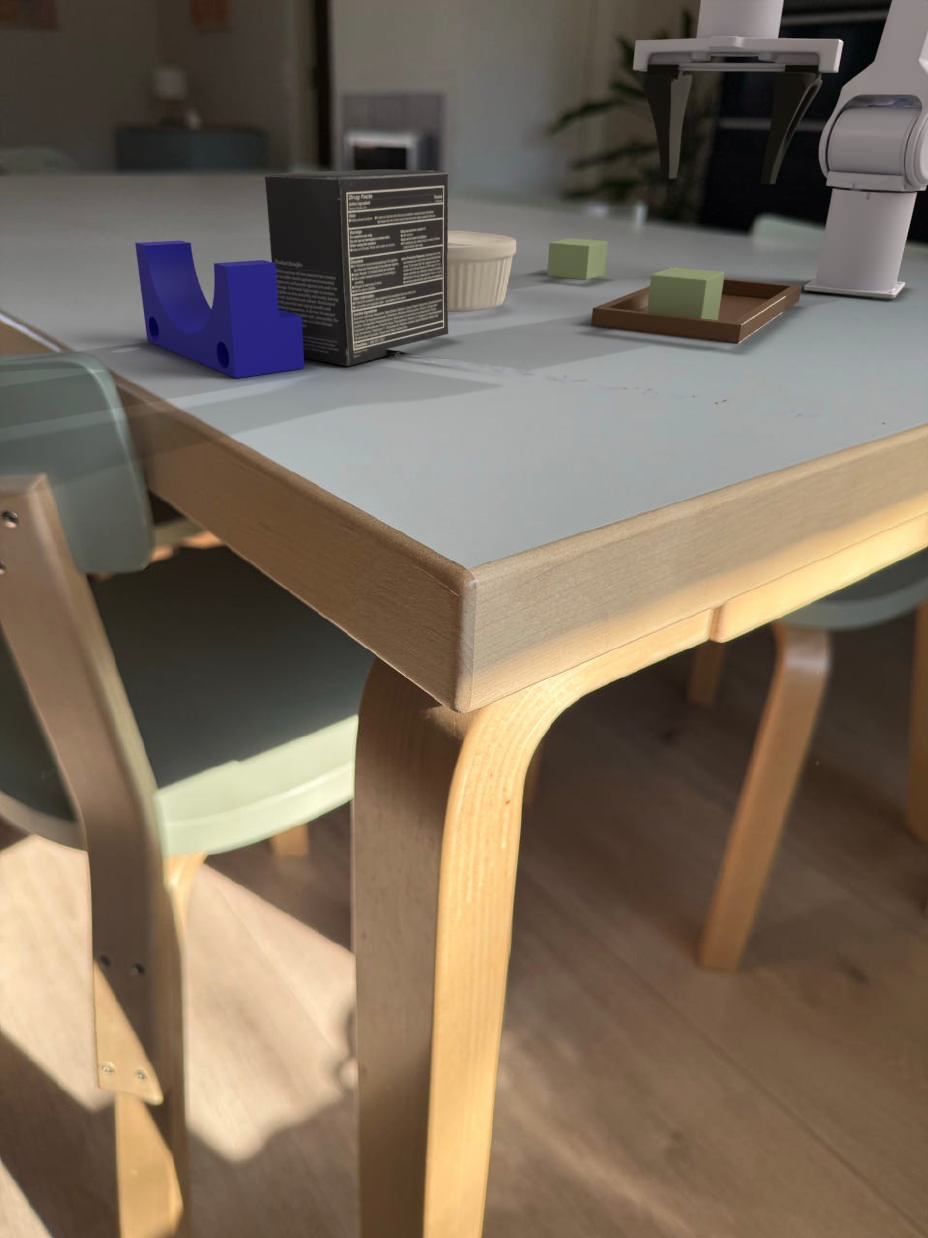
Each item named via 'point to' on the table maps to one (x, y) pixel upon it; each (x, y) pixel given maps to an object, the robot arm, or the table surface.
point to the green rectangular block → (686, 293)
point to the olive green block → (577, 258)
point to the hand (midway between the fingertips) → (717, 180)
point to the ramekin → (477, 269)
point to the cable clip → (218, 312)
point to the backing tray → (737, 319)
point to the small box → (361, 258)
